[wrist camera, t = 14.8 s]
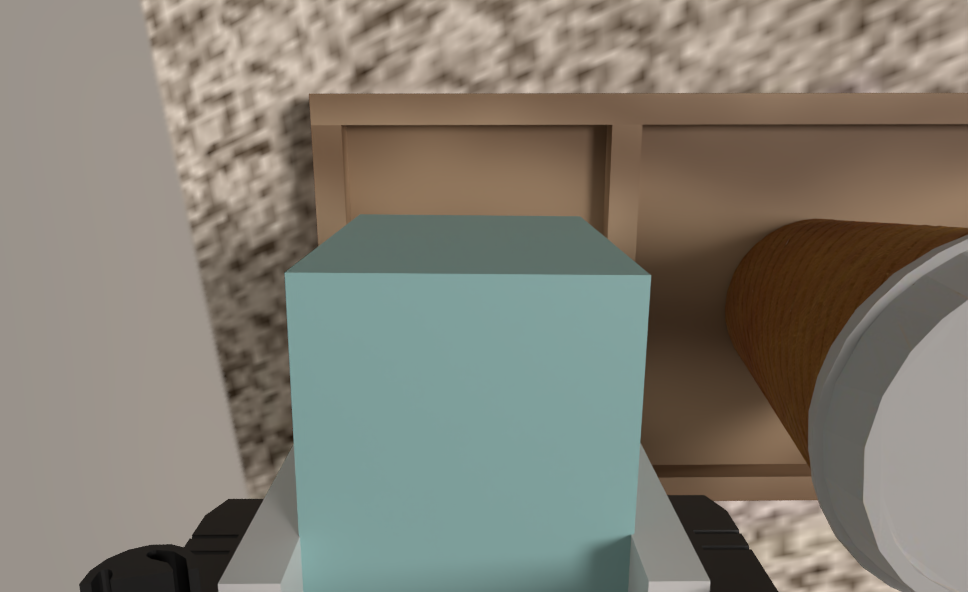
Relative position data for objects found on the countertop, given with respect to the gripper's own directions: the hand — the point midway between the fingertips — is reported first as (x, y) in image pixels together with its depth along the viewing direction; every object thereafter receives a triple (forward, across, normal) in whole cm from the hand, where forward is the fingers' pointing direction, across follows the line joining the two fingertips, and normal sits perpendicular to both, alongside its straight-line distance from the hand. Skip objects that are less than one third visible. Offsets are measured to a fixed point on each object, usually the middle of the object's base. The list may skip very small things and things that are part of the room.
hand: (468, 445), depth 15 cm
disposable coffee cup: (+12, +12, 0) cm, 17 cm away
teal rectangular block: (0, 0, 0) cm, 1 cm away
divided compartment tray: (+13, +8, 0) cm, 15 cm away
